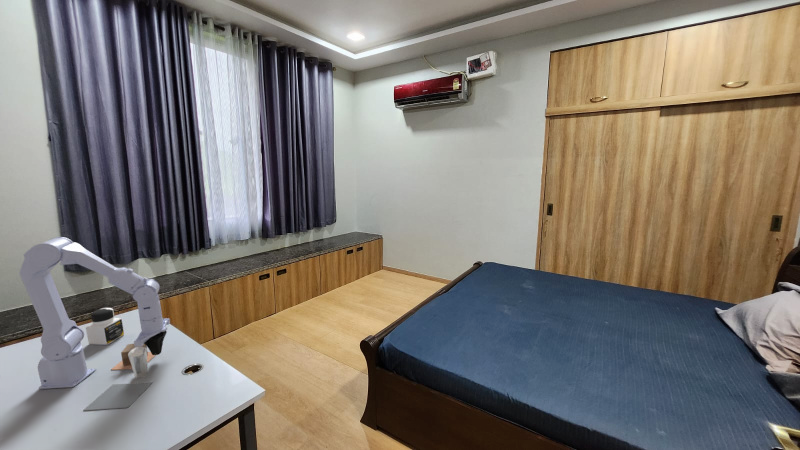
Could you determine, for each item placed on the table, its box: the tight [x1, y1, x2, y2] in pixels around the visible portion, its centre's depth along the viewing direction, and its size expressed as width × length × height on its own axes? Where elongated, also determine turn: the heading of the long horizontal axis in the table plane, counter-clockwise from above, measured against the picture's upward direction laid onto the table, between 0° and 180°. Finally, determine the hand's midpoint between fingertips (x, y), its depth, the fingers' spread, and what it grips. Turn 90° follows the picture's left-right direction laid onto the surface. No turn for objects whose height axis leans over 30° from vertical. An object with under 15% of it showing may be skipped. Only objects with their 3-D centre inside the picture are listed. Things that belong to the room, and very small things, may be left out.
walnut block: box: [120, 343, 149, 366], centre depth 104 cm, size 5×5×5 cm
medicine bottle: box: [85, 307, 125, 345], centre depth 116 cm, size 7×7×12 cm
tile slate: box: [83, 381, 153, 412], centre depth 89 cm, size 11×10×1 cm
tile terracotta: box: [110, 351, 156, 371], centre depth 104 cm, size 9×9×1 cm
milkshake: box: [128, 347, 149, 379], centre depth 96 cm, size 4×5×10 cm
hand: (156, 353), depth 104 cm, fingers closed
